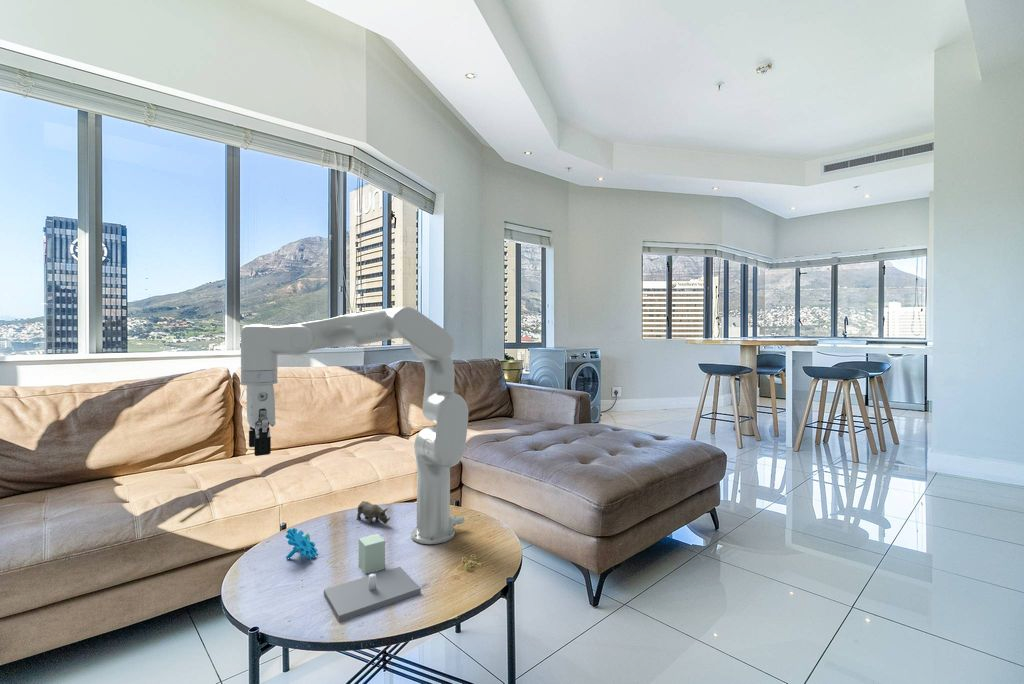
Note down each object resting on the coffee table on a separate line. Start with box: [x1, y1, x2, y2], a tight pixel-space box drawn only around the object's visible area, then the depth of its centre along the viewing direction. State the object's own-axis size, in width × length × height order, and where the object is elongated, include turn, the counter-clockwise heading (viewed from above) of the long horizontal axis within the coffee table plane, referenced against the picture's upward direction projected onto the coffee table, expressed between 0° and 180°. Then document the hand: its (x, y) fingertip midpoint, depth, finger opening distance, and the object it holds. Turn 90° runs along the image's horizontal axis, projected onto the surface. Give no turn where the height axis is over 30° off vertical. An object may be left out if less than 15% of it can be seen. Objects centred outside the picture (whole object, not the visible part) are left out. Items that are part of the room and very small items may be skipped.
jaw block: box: [358, 533, 386, 575], centre depth 116 cm, size 5×5×7 cm
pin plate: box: [323, 566, 422, 622], centre depth 104 cm, size 18×12×4 cm, turn 126°
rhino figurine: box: [356, 500, 391, 525], centre depth 144 cm, size 4×14×6 cm, turn 58°
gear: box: [285, 527, 318, 560], centre depth 121 cm, size 11×6×10 cm
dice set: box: [461, 553, 483, 572], centre depth 118 cm, size 5×5×2 cm
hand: (259, 450), depth 108 cm, fingers open, 9 cm apart
